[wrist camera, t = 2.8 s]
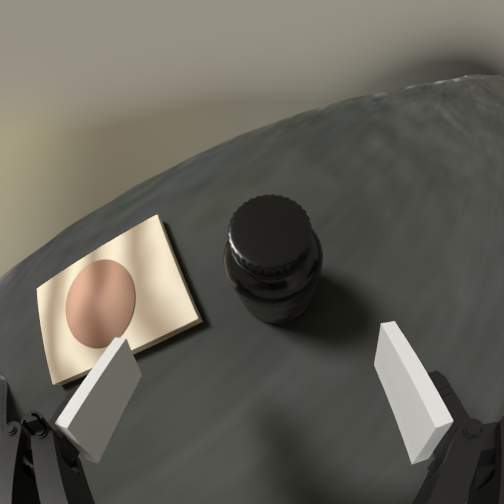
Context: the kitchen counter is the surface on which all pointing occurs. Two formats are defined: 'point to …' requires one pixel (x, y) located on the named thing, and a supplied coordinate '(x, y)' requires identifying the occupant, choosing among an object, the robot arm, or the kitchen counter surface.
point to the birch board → (114, 301)
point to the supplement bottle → (273, 258)
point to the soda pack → (3, 404)
